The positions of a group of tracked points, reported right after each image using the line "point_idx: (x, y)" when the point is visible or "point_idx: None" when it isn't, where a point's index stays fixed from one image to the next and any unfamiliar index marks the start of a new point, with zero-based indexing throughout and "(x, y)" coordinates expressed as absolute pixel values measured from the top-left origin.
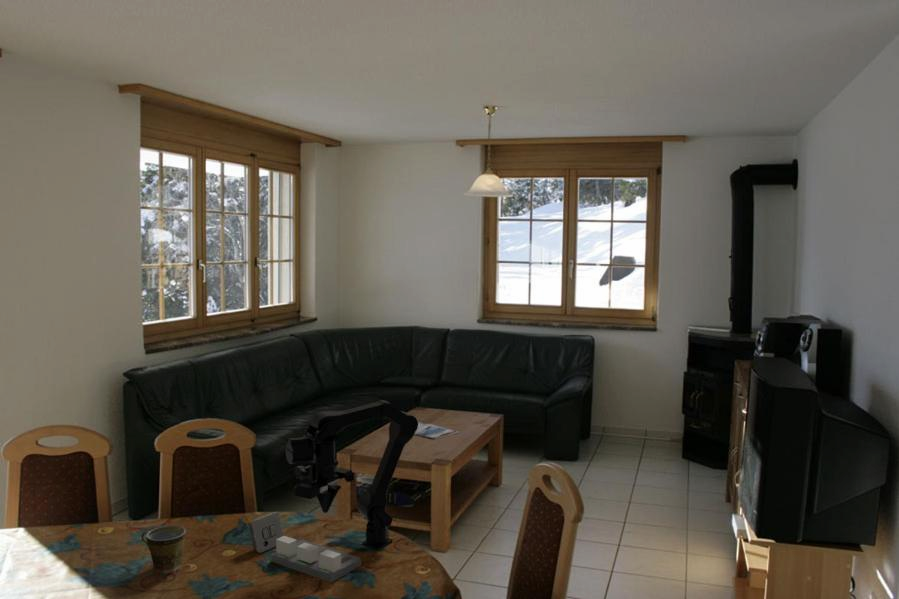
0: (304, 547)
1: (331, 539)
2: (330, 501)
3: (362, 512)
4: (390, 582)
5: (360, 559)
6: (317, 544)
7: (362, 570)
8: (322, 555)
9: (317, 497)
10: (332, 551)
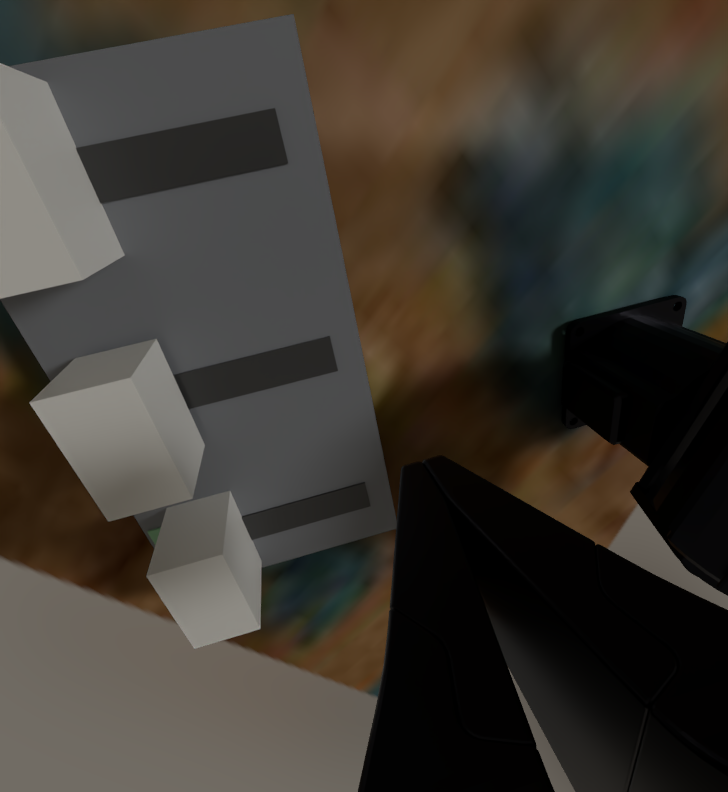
0: (86, 455)
1: (515, 115)
2: (524, 696)
3: (717, 466)
4: (373, 642)
5: (394, 524)
6: (335, 224)
7: (362, 539)
8: (160, 591)
9: (368, 758)
10: (237, 589)
